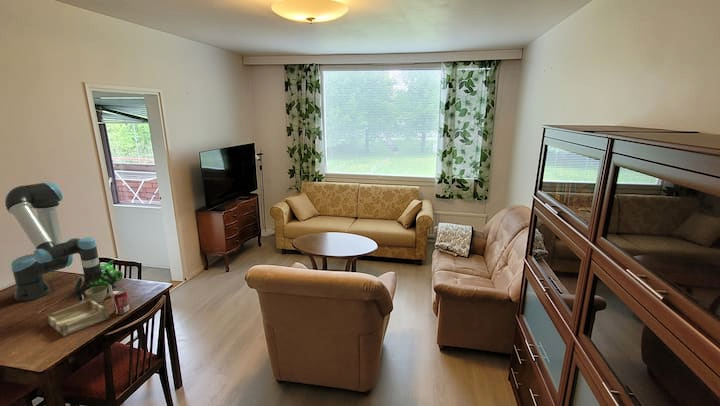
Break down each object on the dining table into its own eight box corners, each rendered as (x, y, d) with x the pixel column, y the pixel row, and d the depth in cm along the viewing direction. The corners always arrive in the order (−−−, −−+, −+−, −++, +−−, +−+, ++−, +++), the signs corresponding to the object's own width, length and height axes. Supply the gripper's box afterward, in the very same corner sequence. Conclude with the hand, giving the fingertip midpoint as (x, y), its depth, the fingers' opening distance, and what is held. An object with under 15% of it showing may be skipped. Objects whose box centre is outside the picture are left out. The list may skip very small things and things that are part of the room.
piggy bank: (110, 292, 204) (106, 269, 201) (80, 291, 204) (75, 268, 201) (126, 281, 218) (122, 259, 215) (98, 280, 218) (94, 259, 215)
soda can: (132, 309, 187) (129, 289, 184) (120, 316, 180) (116, 295, 177) (123, 307, 189) (120, 287, 186) (111, 313, 182) (107, 293, 180)
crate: (48, 324, 173) (46, 314, 171) (92, 307, 188) (90, 298, 187) (63, 336, 163) (61, 326, 162) (108, 317, 179) (107, 308, 178)
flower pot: (97, 307, 189) (95, 295, 187) (82, 304, 191) (80, 293, 189) (113, 297, 198) (111, 286, 197) (99, 296, 200) (96, 284, 198)
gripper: (66, 275, 177) (74, 311, 182) (119, 259, 197) (125, 292, 203) (60, 271, 181) (68, 307, 186) (113, 256, 201) (118, 289, 206)
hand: (98, 299), depth 194 cm, fingers open, 13 cm apart
